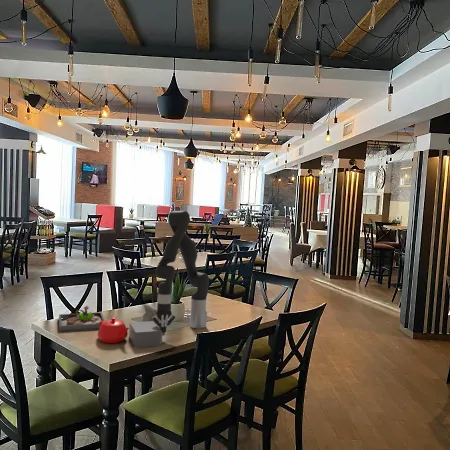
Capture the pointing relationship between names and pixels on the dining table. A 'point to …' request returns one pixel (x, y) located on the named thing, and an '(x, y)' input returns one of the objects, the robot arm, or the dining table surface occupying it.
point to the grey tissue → (150, 313)
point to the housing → (144, 334)
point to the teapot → (112, 331)
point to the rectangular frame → (78, 327)
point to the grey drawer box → (161, 335)
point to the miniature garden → (84, 318)
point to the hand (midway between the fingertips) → (163, 332)
